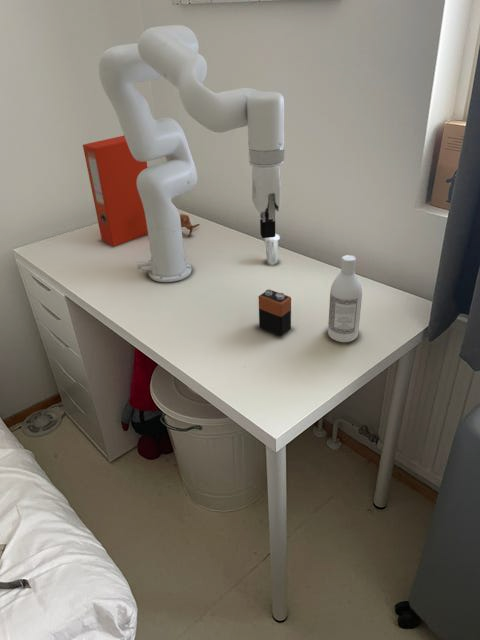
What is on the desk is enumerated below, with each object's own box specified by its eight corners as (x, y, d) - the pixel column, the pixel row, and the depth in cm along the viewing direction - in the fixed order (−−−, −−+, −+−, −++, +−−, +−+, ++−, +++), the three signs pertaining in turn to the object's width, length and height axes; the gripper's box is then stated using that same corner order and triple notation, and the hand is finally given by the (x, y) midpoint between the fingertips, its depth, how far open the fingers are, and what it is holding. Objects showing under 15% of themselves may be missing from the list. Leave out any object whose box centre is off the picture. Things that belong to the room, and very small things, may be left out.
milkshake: (280, 258, 154) (280, 227, 149) (279, 265, 150) (279, 234, 144) (265, 258, 155) (265, 227, 149) (264, 265, 150) (263, 234, 145)
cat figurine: (193, 225, 180) (189, 188, 172) (206, 229, 176) (203, 191, 169) (156, 243, 168) (150, 203, 161) (170, 247, 164) (165, 207, 157)
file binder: (156, 231, 177) (143, 137, 159) (114, 246, 167) (95, 148, 150) (143, 225, 182) (129, 133, 164) (101, 240, 172) (82, 144, 155)
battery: (281, 337, 118) (281, 301, 113) (258, 328, 122) (257, 292, 116) (291, 329, 121) (292, 293, 115) (269, 320, 125) (268, 285, 119)
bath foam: (337, 323, 122) (342, 248, 111) (363, 333, 118) (371, 255, 107) (322, 336, 118) (326, 259, 107) (348, 346, 114) (355, 267, 103)
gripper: (243, 148, 112) (246, 226, 122) (255, 166, 100) (257, 251, 110) (276, 146, 113) (276, 223, 123) (292, 163, 101) (291, 247, 110)
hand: (267, 236), depth 116 cm, fingers closed
